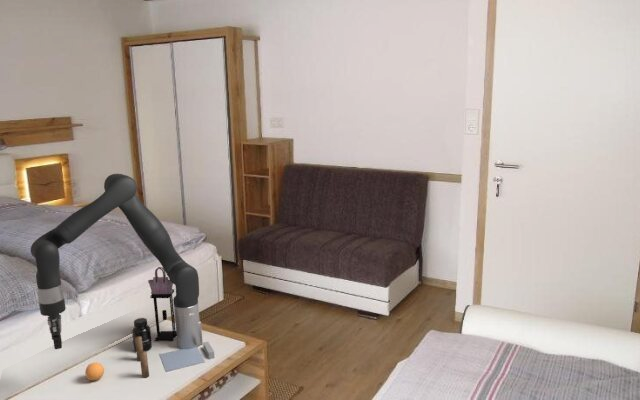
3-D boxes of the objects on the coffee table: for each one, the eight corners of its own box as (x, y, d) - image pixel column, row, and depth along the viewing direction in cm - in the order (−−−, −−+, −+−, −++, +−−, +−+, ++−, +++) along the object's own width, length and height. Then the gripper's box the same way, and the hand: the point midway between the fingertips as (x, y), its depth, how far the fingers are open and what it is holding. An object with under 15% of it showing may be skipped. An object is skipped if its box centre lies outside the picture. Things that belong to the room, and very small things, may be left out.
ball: (104, 373, 188) (102, 357, 187) (105, 381, 182) (103, 365, 181) (86, 377, 185) (83, 361, 184) (86, 385, 180) (84, 369, 179)
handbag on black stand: (182, 332, 217) (175, 264, 211) (176, 341, 210) (169, 270, 204) (157, 332, 218) (150, 264, 212) (150, 341, 211) (143, 270, 205)
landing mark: (196, 346, 206) (196, 345, 206) (204, 362, 193) (204, 361, 193) (159, 354, 200) (159, 354, 200) (166, 371, 187) (166, 371, 187)
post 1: (143, 357, 198) (141, 335, 196) (144, 360, 196) (142, 338, 194) (136, 359, 197) (134, 337, 195) (137, 362, 195) (135, 339, 193)
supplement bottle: (146, 353, 201) (143, 324, 198) (130, 352, 202) (127, 323, 200) (155, 345, 207) (152, 317, 205) (139, 344, 209) (136, 316, 206)
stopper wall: (208, 347, 204) (208, 341, 204) (214, 357, 196) (214, 351, 196) (203, 348, 203) (203, 342, 203) (209, 359, 195) (208, 352, 195)
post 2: (148, 373, 186) (146, 350, 185) (149, 376, 184) (147, 353, 182) (141, 375, 185) (139, 352, 184) (142, 378, 183) (140, 355, 181)
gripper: (64, 303, 168) (71, 353, 172) (63, 289, 181) (70, 335, 184) (37, 308, 165) (45, 358, 169) (39, 293, 177) (46, 340, 181)
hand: (58, 346), depth 176 cm, fingers closed
